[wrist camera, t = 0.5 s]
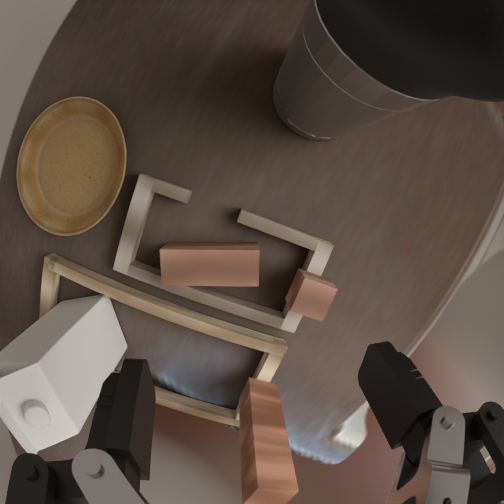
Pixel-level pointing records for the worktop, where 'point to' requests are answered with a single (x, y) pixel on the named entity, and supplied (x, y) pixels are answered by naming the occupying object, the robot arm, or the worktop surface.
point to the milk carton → (58, 370)
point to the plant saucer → (71, 166)
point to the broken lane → (224, 263)
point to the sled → (245, 416)
